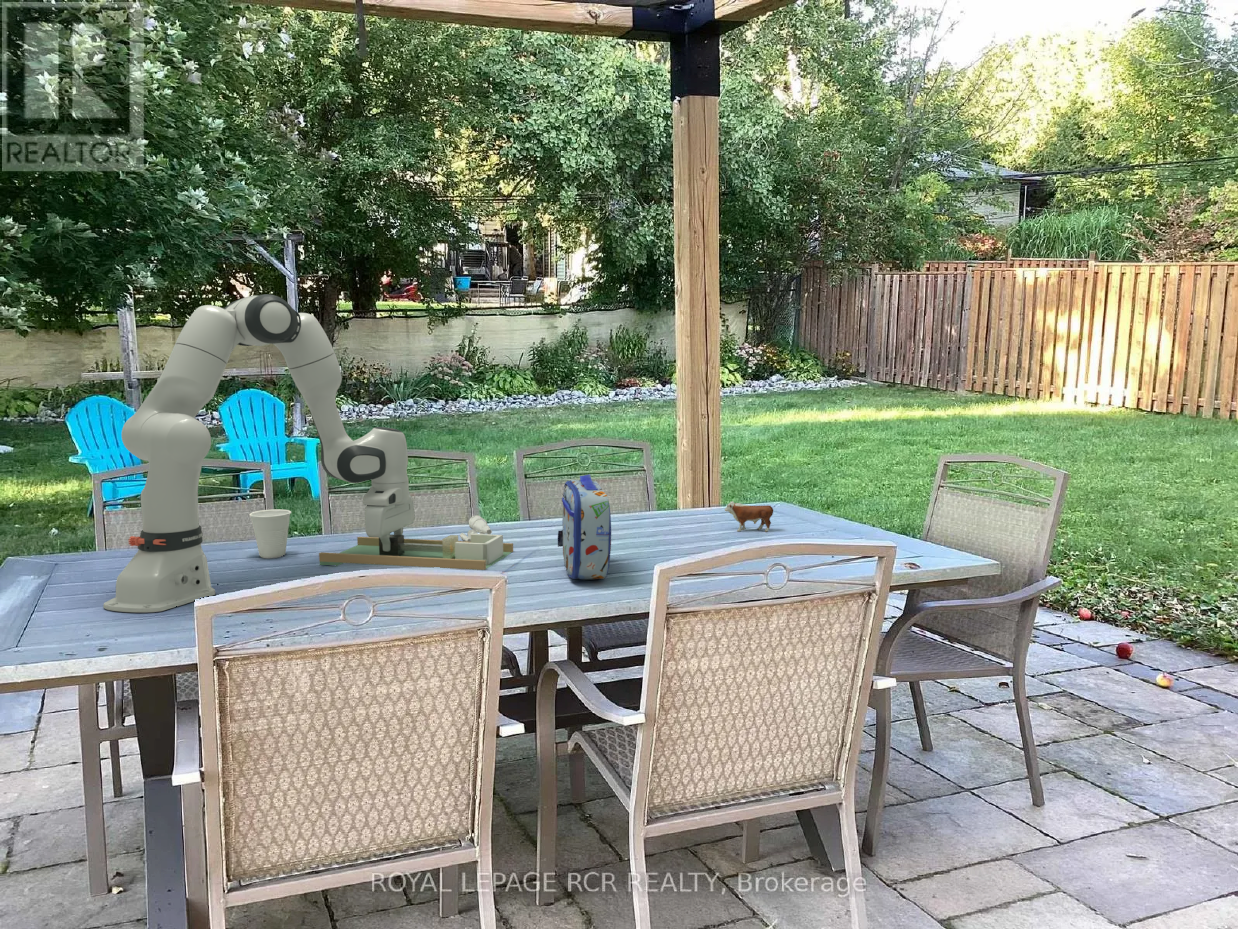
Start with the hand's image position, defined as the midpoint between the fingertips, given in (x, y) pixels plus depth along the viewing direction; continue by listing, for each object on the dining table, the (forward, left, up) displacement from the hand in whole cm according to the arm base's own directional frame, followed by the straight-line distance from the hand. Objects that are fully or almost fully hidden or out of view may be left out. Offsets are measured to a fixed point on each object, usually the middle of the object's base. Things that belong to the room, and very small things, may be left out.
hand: (392, 548), depth 247 cm
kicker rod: (0, -7, -1) cm, 7 cm away
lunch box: (-3, -50, -3) cm, 50 cm away
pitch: (0, -7, -3) cm, 7 cm away
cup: (-3, +31, -3) cm, 31 cm away
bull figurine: (+53, -82, -3) cm, 98 cm away
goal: (0, -23, -3) cm, 23 cm away
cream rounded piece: (+21, -14, -3) cm, 25 cm away
